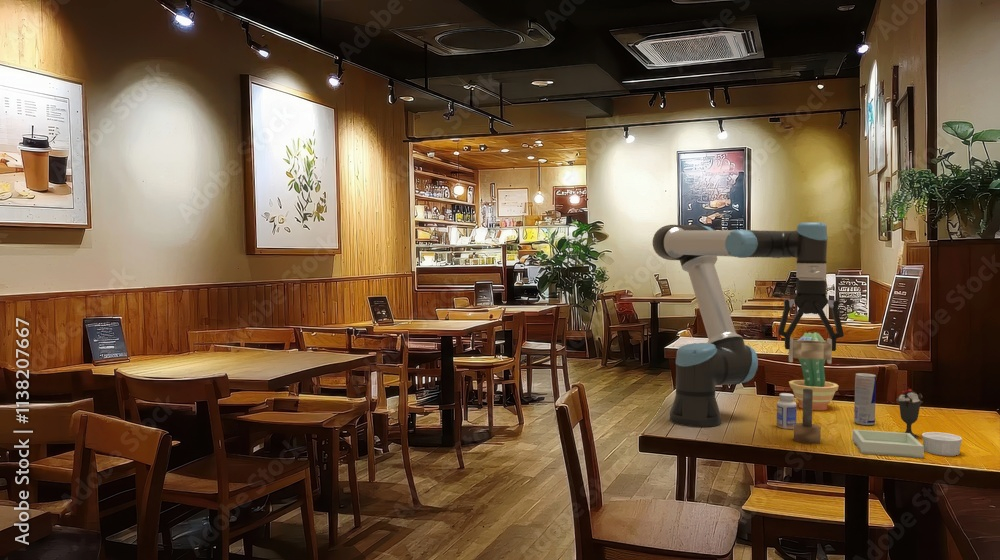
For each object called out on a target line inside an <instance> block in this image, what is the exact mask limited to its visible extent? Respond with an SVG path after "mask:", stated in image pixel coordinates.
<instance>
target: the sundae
mask: <svg viewBox="0 0 1000 560" xmlns="http://www.w3.org/2000/svg"><path fill="white" fill-rule="evenodd" d="M902 385H903V387H904V388H903V390H902V391H901V394H900V395H899V396H898V398H896V399H895V400H896V402H897V403H898V406H899V413H900V418H901V420H902V421H903V422H904V423H905V424H906V430H905V431H904V433H910V434H911V435H912V436H913V437H914V438H916V439H918V438H920V437H919V435H917V434H915V433H913V430H912V425H913V424H914V423H916V422H917V421H918V418H919V413H920V408H921V405H922V403H923V400H922V399H923V395H922V393H919V394H917V392H915V391H914V390H912V388H910V387H908V386H907V385H906V383H902ZM906 388H907V390H905V389H906Z"/></svg>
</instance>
